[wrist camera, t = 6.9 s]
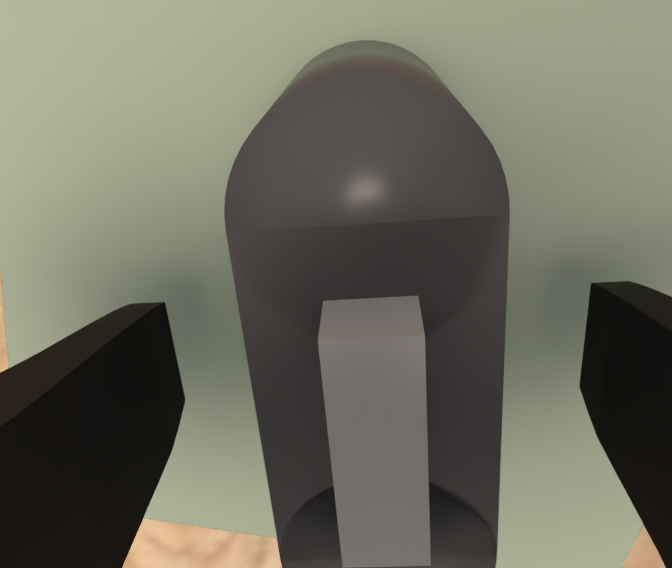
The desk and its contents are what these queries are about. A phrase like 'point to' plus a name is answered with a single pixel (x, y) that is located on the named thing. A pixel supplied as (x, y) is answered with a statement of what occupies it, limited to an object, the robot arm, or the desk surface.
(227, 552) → the desk surface
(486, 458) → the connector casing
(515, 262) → the desk mat
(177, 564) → the desk surface
